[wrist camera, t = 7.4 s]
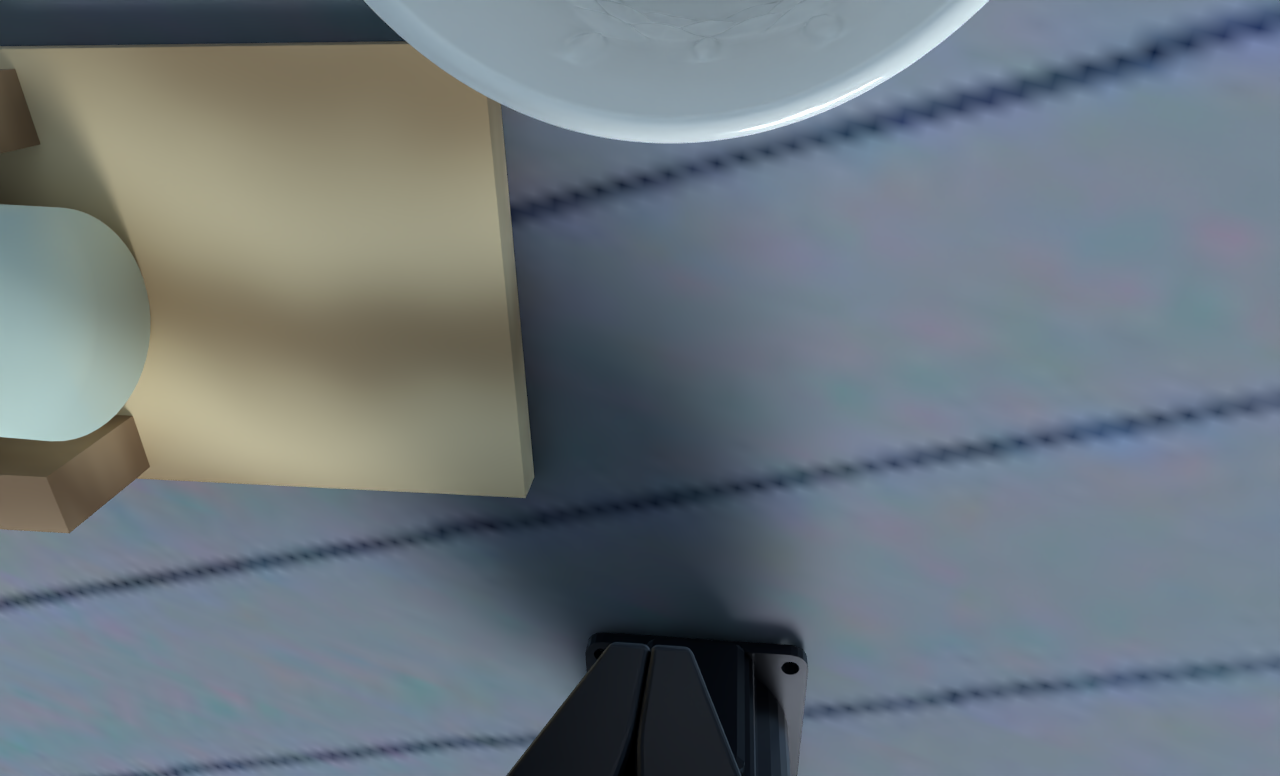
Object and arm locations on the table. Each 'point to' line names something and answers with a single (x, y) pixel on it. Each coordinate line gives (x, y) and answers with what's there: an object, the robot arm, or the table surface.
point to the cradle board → (281, 268)
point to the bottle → (66, 323)
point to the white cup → (673, 57)
